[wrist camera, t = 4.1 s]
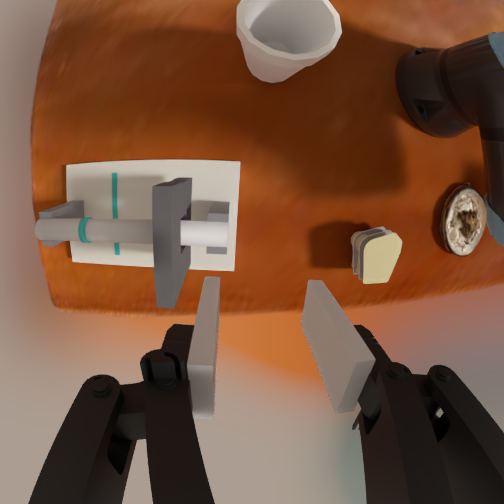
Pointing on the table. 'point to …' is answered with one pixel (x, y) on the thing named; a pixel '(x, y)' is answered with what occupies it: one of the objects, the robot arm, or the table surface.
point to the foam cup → (285, 35)
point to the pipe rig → (143, 212)
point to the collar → (170, 238)
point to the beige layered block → (375, 254)
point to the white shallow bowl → (463, 220)
